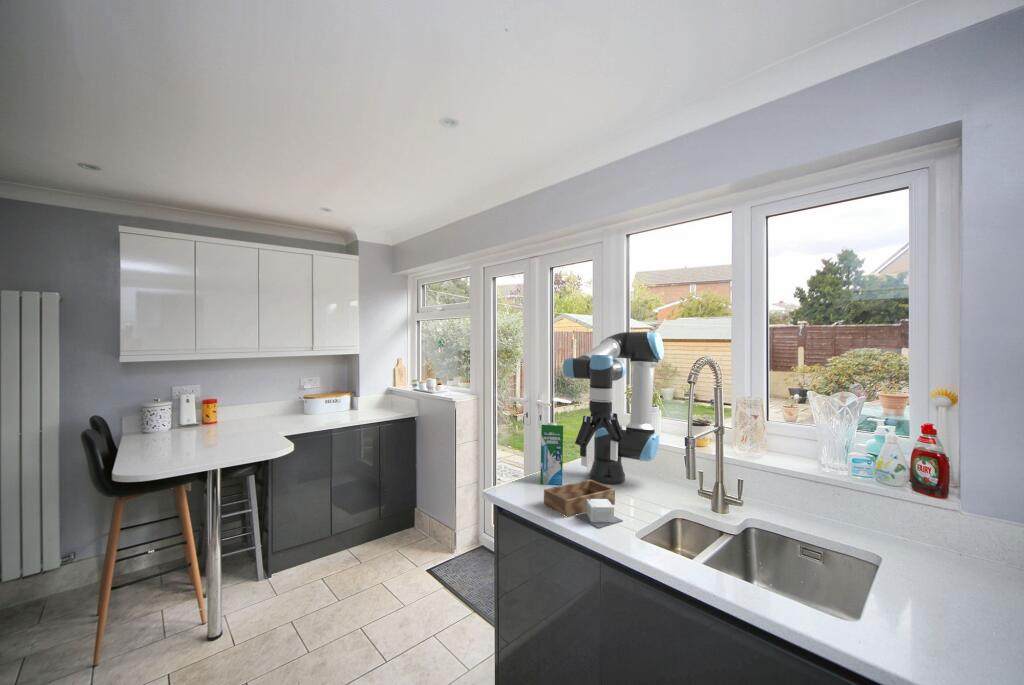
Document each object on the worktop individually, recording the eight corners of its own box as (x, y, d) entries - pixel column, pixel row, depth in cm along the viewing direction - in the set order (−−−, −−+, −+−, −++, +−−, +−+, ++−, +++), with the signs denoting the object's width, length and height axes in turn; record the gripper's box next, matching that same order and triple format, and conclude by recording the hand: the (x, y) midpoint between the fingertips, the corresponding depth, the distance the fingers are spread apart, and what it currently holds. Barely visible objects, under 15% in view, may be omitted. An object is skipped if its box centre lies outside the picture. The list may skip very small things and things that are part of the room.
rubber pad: (599, 510, 152) (599, 508, 152) (622, 521, 142) (622, 520, 142) (575, 516, 146) (575, 515, 146) (598, 528, 136) (598, 527, 136)
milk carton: (561, 478, 186) (562, 421, 186) (562, 485, 177) (563, 425, 177) (541, 477, 187) (542, 420, 187) (540, 484, 178) (541, 424, 178)
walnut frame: (590, 493, 168) (590, 479, 168) (614, 504, 157) (615, 489, 157) (543, 504, 156) (543, 489, 156) (566, 517, 145) (567, 501, 145)
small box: (614, 522, 140) (614, 507, 140) (590, 523, 140) (591, 507, 140) (607, 513, 148) (608, 498, 148) (585, 513, 147) (585, 498, 147)
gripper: (618, 396, 154) (617, 455, 154) (565, 401, 141) (564, 465, 141) (634, 399, 148) (633, 460, 148) (580, 404, 134) (579, 471, 135)
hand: (599, 463), depth 144 cm, fingers open, 13 cm apart
